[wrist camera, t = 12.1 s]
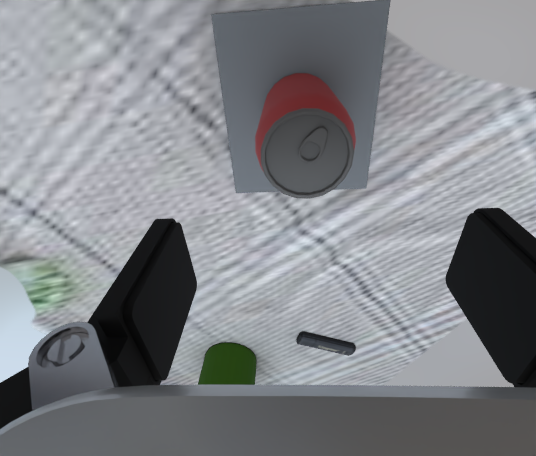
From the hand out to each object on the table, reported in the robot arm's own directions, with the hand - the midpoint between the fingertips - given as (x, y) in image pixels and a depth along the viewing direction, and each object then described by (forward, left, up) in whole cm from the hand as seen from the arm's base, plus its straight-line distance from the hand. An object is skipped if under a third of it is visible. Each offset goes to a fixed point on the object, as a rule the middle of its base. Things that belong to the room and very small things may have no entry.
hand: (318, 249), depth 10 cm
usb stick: (+36, +4, -23) cm, 42 cm away
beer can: (0, 0, -21) cm, 21 cm away
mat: (0, 0, -22) cm, 22 cm away
